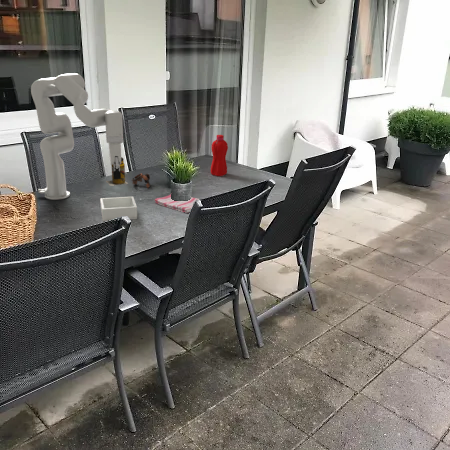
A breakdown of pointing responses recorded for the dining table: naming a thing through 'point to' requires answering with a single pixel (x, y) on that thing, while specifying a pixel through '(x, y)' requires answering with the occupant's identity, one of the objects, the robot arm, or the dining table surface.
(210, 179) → the dining table surface
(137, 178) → the brown jointed arch figure
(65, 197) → the robot arm
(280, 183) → the dining table surface
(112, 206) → the bin
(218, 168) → the water bottle
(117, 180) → the condiment
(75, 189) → the dining table surface
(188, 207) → the dish towel
